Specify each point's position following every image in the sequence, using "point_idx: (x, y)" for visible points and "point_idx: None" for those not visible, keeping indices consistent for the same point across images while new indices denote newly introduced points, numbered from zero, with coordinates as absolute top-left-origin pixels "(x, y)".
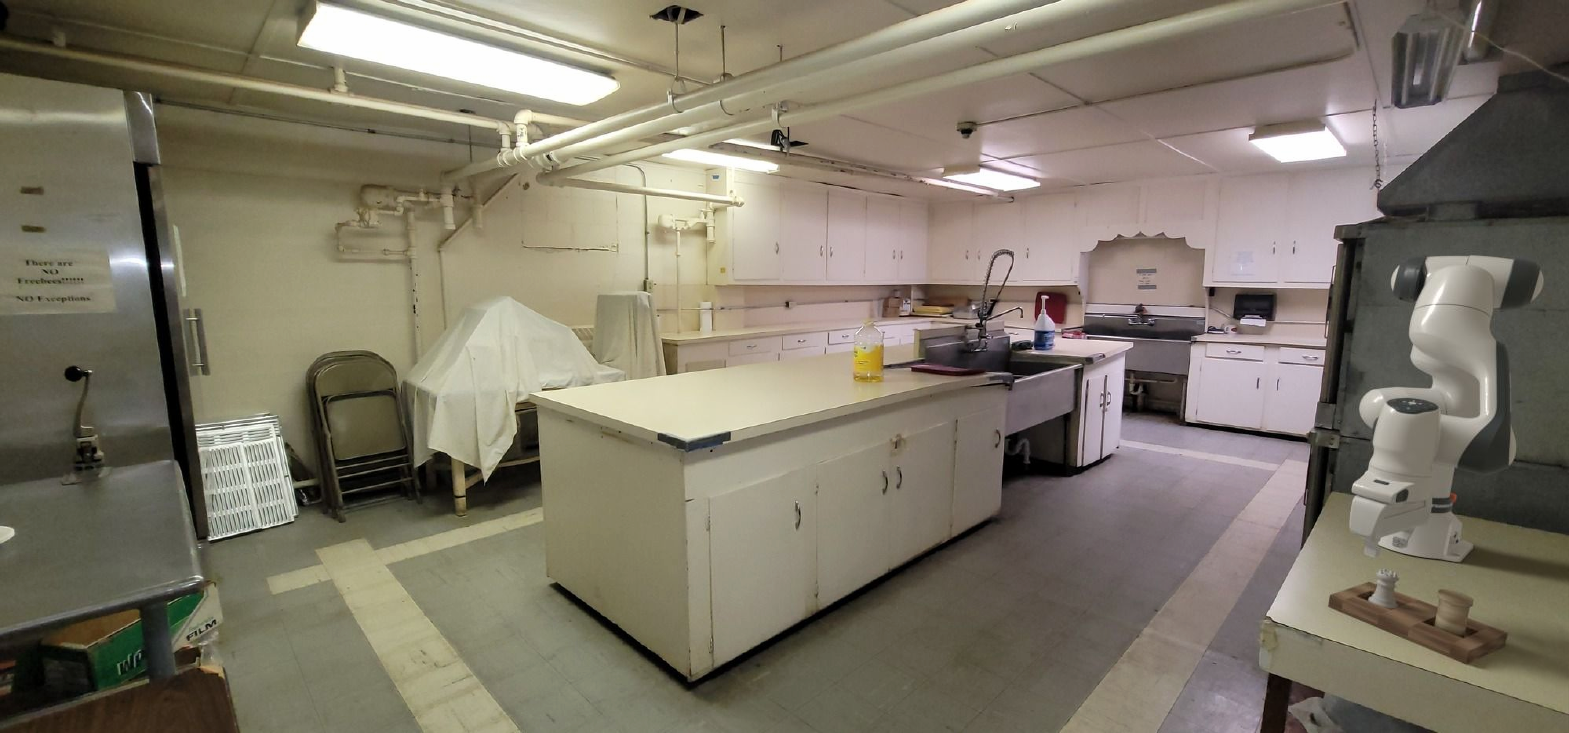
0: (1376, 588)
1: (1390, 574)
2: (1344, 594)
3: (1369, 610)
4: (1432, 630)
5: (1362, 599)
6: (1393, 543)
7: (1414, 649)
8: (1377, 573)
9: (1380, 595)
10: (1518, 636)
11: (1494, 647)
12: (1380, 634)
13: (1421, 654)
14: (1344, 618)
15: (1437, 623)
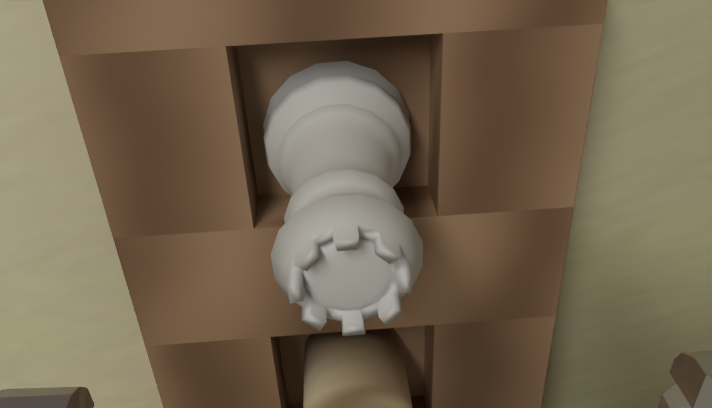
0: (319, 152)
1: (305, 321)
2: (162, 3)
3: (106, 195)
4: (227, 386)
5: (221, 94)
6: (697, 384)
7: (105, 343)
8: (300, 223)
9: (290, 179)
10: (662, 392)
11: None
12: (76, 239)
13: (93, 368)
14: (33, 83)
15: (310, 377)
